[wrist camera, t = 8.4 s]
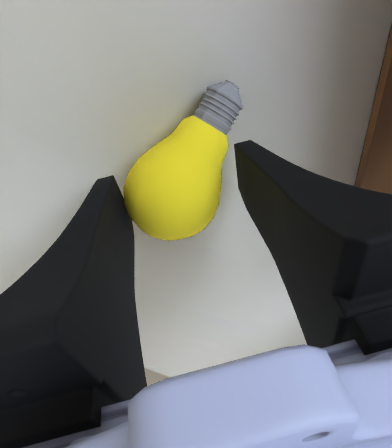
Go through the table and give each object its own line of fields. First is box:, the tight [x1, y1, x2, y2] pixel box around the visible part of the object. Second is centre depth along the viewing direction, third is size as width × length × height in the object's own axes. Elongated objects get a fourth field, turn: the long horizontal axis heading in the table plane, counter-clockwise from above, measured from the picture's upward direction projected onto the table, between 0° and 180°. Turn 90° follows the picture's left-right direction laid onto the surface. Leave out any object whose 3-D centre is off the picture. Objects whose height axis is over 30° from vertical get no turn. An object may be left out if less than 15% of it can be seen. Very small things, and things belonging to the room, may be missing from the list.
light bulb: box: [124, 80, 243, 241], centre depth 11 cm, size 3×6×4 cm, turn 145°
